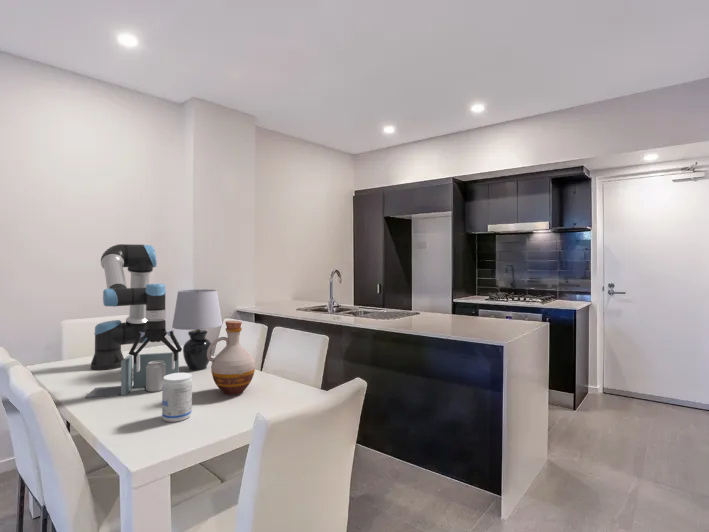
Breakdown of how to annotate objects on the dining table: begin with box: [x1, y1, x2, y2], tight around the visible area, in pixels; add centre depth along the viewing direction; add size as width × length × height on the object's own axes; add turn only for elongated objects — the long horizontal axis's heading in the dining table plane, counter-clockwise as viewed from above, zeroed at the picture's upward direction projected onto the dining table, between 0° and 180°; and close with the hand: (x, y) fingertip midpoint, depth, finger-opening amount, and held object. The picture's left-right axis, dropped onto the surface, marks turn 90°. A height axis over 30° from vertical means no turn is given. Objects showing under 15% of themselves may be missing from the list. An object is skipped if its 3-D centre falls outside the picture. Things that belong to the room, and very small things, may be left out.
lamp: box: [172, 288, 223, 372], centre depth 206 cm, size 24×24×40 cm
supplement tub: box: [161, 372, 193, 423], centre depth 141 cm, size 10×10×15 cm
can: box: [145, 361, 166, 393], centre depth 171 cm, size 8×8×12 cm
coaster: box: [84, 385, 121, 399], centre depth 168 cm, size 12×12×1 cm
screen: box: [120, 351, 180, 397], centre depth 172 cm, size 13×20×14 cm, turn 106°
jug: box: [207, 320, 256, 396], centre depth 169 cm, size 20×18×30 cm
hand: (156, 369), depth 171 cm, fingers open, 13 cm apart
